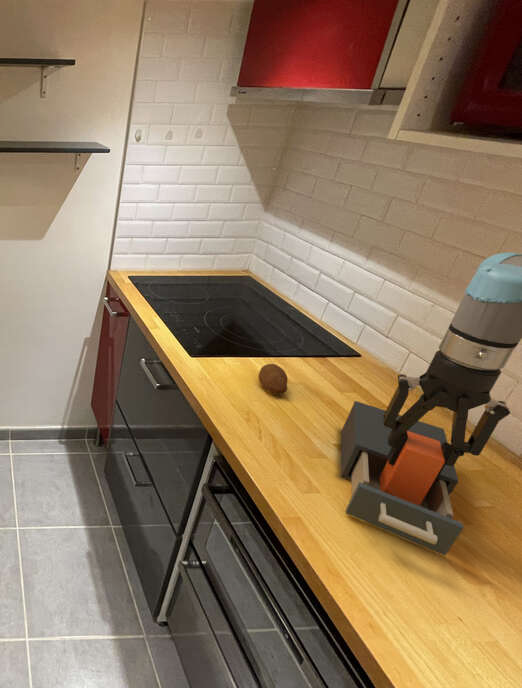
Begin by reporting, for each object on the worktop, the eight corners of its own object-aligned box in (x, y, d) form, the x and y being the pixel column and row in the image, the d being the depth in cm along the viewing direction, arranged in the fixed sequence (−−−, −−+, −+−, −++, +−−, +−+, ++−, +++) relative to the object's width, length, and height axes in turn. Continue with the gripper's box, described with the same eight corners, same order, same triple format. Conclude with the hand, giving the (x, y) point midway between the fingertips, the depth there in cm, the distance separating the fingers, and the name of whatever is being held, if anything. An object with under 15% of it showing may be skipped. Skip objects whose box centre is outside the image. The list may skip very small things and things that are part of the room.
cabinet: (437, 515, 83) (459, 481, 80) (340, 476, 91) (356, 444, 87) (425, 460, 96) (444, 428, 92) (341, 430, 103) (354, 400, 100)
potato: (261, 396, 115) (268, 376, 112) (250, 375, 123) (256, 356, 121) (290, 401, 113) (297, 380, 111) (277, 378, 122) (283, 359, 119)
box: (412, 489, 84) (439, 441, 79) (416, 511, 80) (445, 461, 75) (379, 477, 87) (403, 429, 82) (380, 497, 83) (406, 448, 78)
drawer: (449, 576, 72) (469, 548, 69) (345, 530, 79) (359, 502, 76) (432, 494, 86) (448, 468, 84) (345, 461, 94) (357, 436, 91)
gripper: (397, 350, 73) (349, 457, 83) (561, 392, 63) (485, 507, 73) (394, 332, 79) (349, 434, 88) (544, 367, 69) (475, 478, 79)
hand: (411, 467), depth 81 cm, fingers closed on box, 5 cm apart
